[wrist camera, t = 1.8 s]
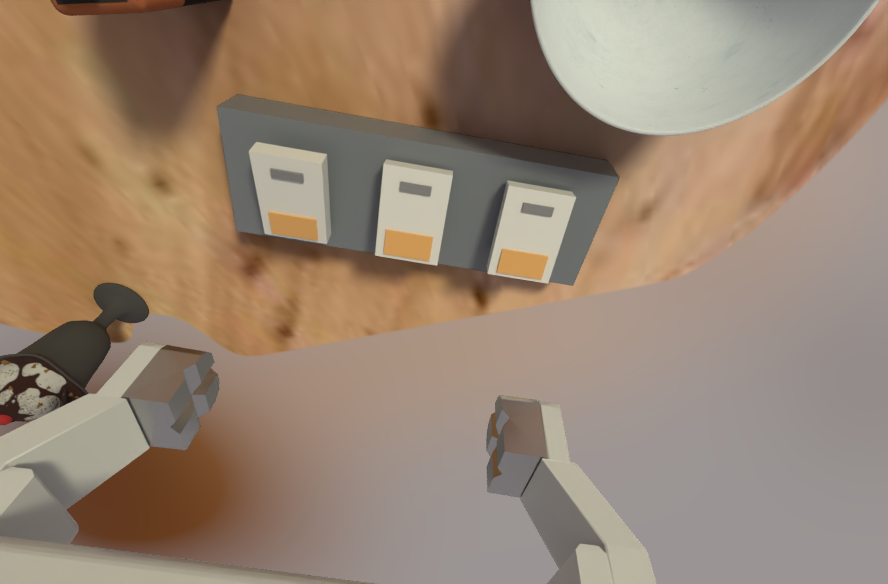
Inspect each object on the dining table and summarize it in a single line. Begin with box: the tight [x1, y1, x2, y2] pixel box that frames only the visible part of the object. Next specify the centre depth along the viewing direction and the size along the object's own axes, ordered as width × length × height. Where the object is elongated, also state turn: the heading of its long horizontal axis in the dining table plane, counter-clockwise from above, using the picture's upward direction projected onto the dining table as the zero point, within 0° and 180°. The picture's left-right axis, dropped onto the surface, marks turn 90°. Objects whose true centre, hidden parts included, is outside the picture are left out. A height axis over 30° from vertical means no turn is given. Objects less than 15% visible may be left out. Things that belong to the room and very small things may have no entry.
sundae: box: [0, 283, 148, 425], centre depth 36 cm, size 7×7×15 cm
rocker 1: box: [249, 142, 331, 244], centre depth 29 cm, size 4×6×2 cm
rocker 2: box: [375, 159, 453, 266], centre depth 29 cm, size 4×6×2 cm
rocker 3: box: [487, 180, 576, 284], centre depth 30 cm, size 4×6×2 cm
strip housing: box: [217, 94, 620, 286], centre depth 31 cm, size 26×9×3 cm, turn 81°
